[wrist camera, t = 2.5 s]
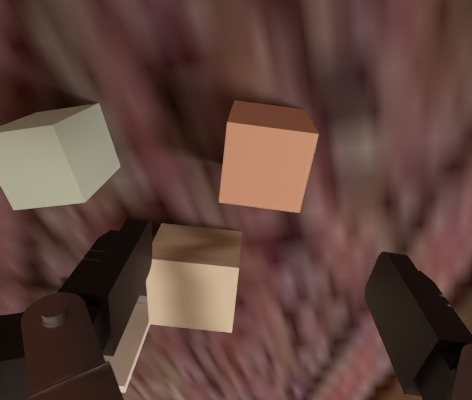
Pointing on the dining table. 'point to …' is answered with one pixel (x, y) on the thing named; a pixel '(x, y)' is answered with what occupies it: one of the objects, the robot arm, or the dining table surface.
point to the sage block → (56, 157)
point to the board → (130, 343)
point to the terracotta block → (267, 156)
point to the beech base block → (193, 277)
